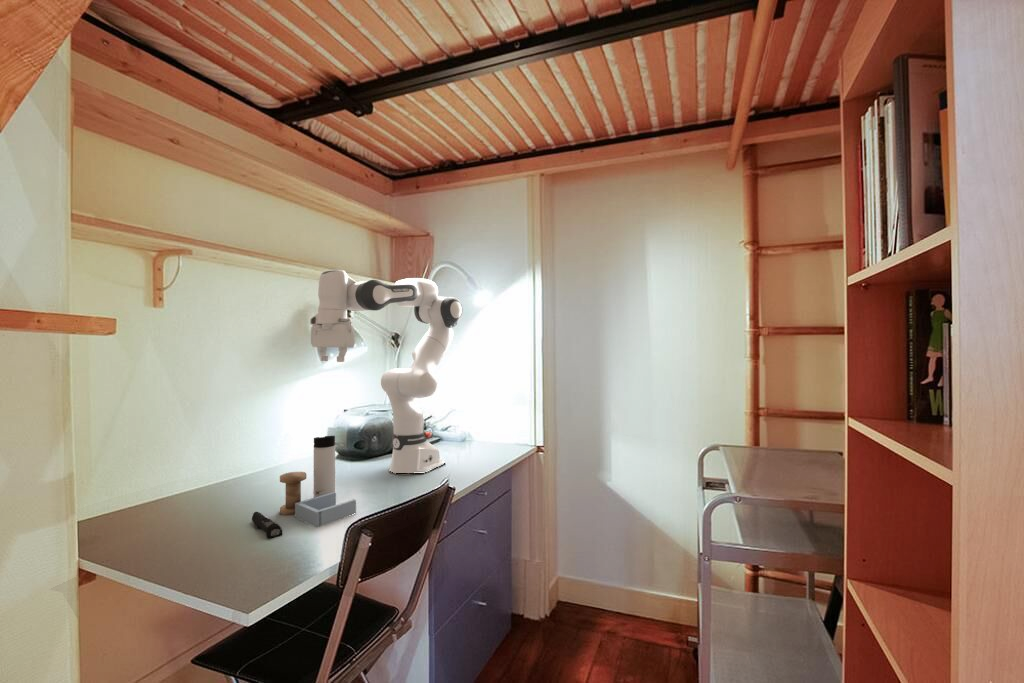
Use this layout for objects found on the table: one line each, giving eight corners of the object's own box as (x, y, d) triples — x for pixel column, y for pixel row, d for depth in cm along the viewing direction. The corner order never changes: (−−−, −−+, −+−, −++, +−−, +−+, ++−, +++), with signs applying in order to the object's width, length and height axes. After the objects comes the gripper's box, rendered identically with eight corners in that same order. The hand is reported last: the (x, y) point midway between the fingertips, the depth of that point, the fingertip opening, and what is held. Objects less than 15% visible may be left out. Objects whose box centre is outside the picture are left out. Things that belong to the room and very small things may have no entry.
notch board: (333, 505, 135) (333, 491, 135) (355, 513, 128) (356, 499, 128) (295, 517, 125) (295, 503, 125) (317, 527, 118) (317, 512, 118)
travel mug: (317, 504, 136) (317, 438, 136) (311, 498, 141) (311, 434, 141) (338, 499, 140) (338, 435, 140) (331, 493, 145) (331, 432, 145)
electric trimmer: (263, 520, 125) (263, 508, 125) (284, 536, 114) (283, 523, 114) (248, 524, 122) (248, 512, 122) (268, 541, 111) (267, 528, 111)
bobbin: (298, 504, 135) (298, 470, 135) (311, 509, 131) (311, 474, 131) (275, 511, 129) (275, 475, 129) (287, 517, 125) (287, 480, 125)
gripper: (360, 318, 142) (359, 362, 142) (324, 320, 154) (324, 360, 154) (342, 317, 137) (341, 362, 137) (307, 319, 149) (306, 360, 149)
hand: (332, 361), depth 145 cm, fingers open, 8 cm apart
